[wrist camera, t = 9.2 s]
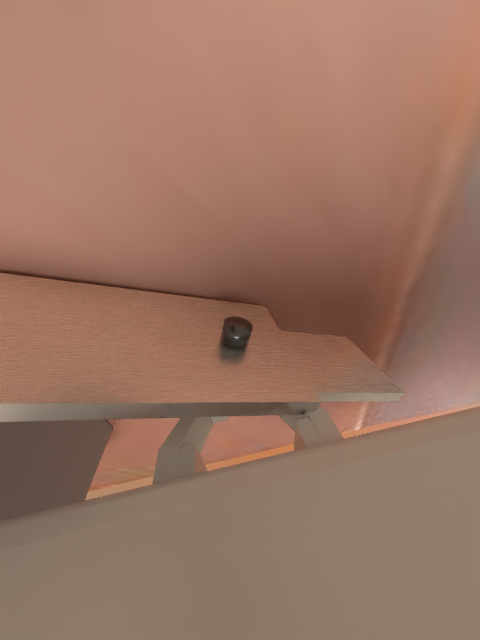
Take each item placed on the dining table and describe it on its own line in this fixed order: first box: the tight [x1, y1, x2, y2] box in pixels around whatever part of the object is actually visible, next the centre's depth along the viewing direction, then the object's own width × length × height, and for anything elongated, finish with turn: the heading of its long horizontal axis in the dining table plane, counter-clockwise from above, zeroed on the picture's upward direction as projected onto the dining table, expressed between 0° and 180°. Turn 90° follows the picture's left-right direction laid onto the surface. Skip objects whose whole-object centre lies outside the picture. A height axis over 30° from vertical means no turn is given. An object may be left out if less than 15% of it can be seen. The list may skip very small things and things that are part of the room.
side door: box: [0, 273, 405, 422], centre depth 9 cm, size 2×21×8 cm, turn 77°
